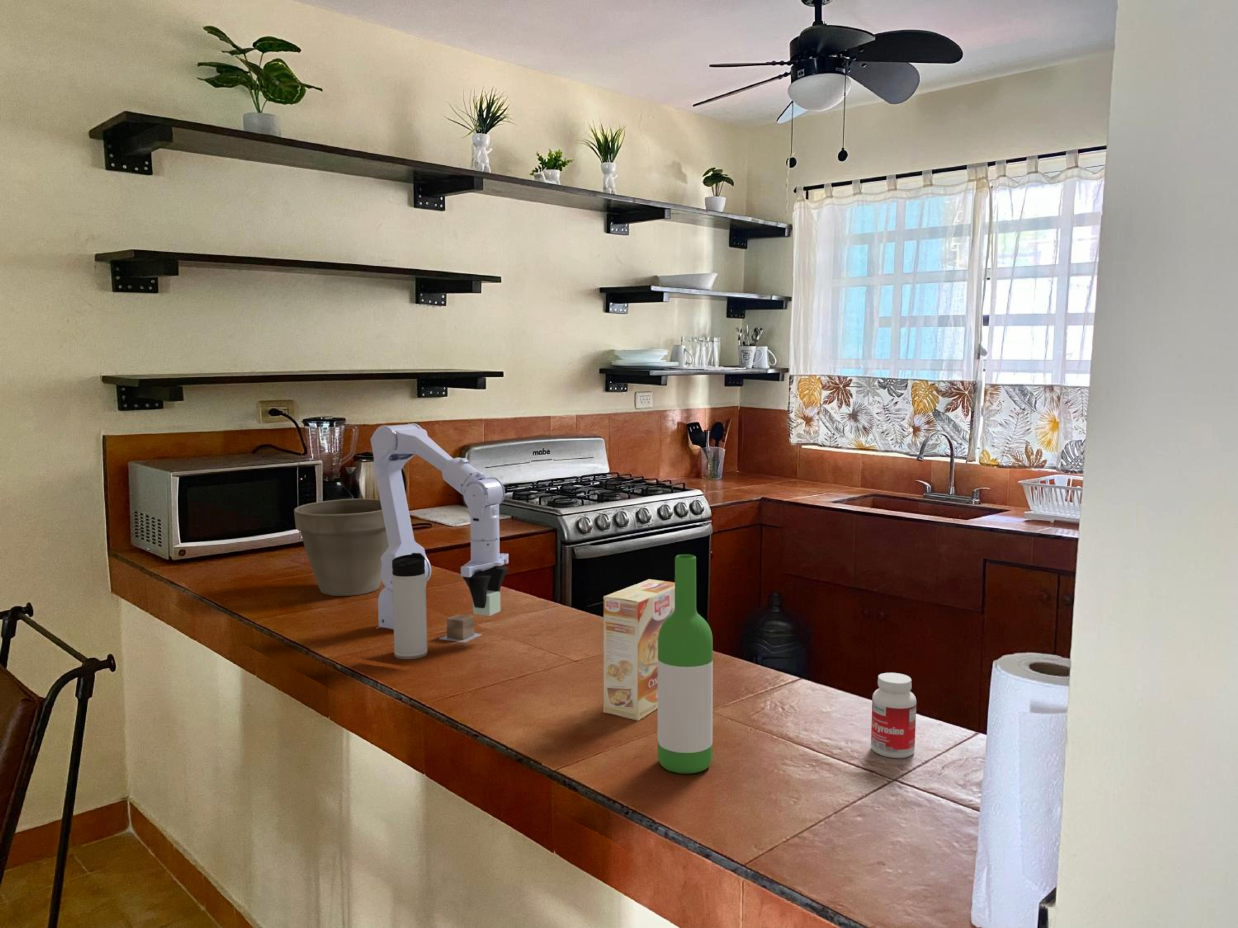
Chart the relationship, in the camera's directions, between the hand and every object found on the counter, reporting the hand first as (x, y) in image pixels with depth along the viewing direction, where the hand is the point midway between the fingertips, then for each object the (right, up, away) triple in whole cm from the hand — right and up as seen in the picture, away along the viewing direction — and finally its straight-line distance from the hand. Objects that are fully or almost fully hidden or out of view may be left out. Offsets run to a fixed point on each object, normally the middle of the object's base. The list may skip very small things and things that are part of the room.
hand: (485, 604), depth 189 cm
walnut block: (-6, -7, +4) cm, 10 cm away
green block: (0, -2, 0) cm, 2 cm away
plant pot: (-42, -4, +48) cm, 64 cm away
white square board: (-6, -8, +4) cm, 11 cm away
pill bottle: (+67, -14, -52) cm, 86 cm away
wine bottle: (+36, -14, -57) cm, 69 cm away
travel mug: (-13, -9, -7) cm, 18 cm away
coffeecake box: (+31, -12, -32) cm, 46 cm away
